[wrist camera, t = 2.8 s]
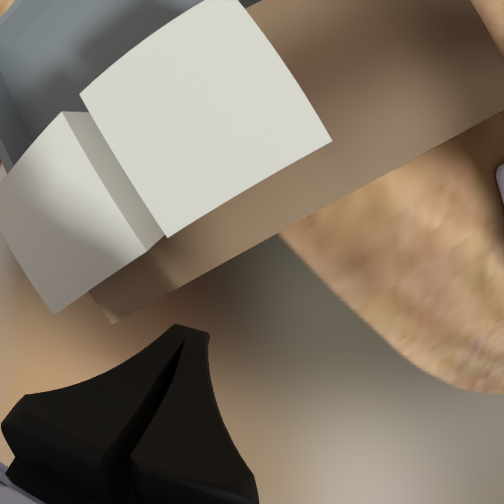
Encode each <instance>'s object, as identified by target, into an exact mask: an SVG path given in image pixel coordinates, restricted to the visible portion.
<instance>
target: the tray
mask: <svg viewBox="0 0 504 504" xmlns="http://www.w3.org/2000/svg"><path fill="white" fill-rule="evenodd" d="M202 1H204V0H16V1H15V2H14V3H13V4H12V5H11V6H10V7H9V9H8V10H7V11H6V12H5V13H4V14H3V16H2V17H1V18H0V159H1V161H2V164H3V166H4V168H5V170H6V172H7V174H8V173H9V172H10V170H11V169H12V168H13V167H14V165H15V164H16V163H17V162H18V160H19V159H20V158H21V157H22V155H23V154H24V153H25V152H26V150H27V149H28V148H29V147H30V146H31V145H32V143H33V142H34V141H35V140H36V139H37V138H38V136H39V135H40V134H41V133H42V132H43V131H44V130H45V129H46V128H47V126H48V125H49V124H50V123H51V122H52V121H53V120H54V119H55V118H56V117H57V116H58V115H59V114H60V113H61V112H62V111H66V112H89V111H88V109H87V107H86V105H85V104H84V102H83V100H82V98H81V96H80V95H79V94H80V93H81V92H82V91H83V90H84V89H85V88H86V87H87V86H89V85H90V84H91V83H92V82H93V81H94V80H95V79H96V78H97V77H99V76H100V75H101V74H102V73H103V72H104V71H105V70H107V69H108V68H109V67H110V66H111V65H113V64H114V63H115V62H116V61H117V60H119V59H120V58H121V57H122V56H124V55H125V54H126V53H127V52H129V51H130V50H131V49H133V48H134V47H135V46H136V45H138V44H139V43H140V42H142V41H143V40H145V39H146V38H147V37H149V36H150V35H151V34H153V33H154V32H156V31H157V30H159V29H160V28H161V27H163V26H164V25H166V24H167V23H169V22H170V21H172V20H173V19H175V18H176V17H178V16H180V15H181V14H183V13H184V12H186V11H187V10H189V9H191V8H192V7H194V6H196V5H197V4H199V3H201V2H202ZM238 1H239V2H240V3H241V5H242V6H243V7H244V9H246V8H248V7H249V6H251V5H253V4H255V3H257V2H259V1H261V0H238Z"/></svg>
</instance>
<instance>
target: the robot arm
mask: <svg viewBox="0 0 504 504" xmlns="http://www.w3.org/2000/svg"><path fill="white" fill-rule="evenodd" d="M496 178H497V182H498V186H499V189H500V193H501V196H502V200H503V204H504V164H502V165H500V166H499V167H498V169H497V171H496ZM209 339H210V335H209V334H208V332H204V331H200V330H196V329H193V328H189V327H186V326H182V325H178V324H174V325H172V326H171V327H170V328H169V329H168V330H167V331H166V332H165V333H163V334H162V335H161V336H160V337H159V338H157V339H156V340H155V341H154V342H153V343H151V344H150V345H148V346H147V347H146V348H144V349H143V350H142V351H141V352H139V353H137V354H136V355H134V356H133V357H131V358H130V359H128V360H127V361H125V362H123V363H122V364H120V365H118V366H116V367H114V368H113V369H111V370H109V371H107V372H105V373H103V374H100V375H98V376H96V377H93V378H91V379H89V380H87V381H84V382H81V383H78V384H75V385H72V386H68V387H65V388H61V389H57V390H52V391H47V392H41V393H35V394H27V395H24V397H22V398H21V399H20V401H18V402H17V404H16V405H15V406H14V407H13V408H12V410H11V411H10V412H9V414H8V415H7V416H6V418H5V419H4V420H3V422H2V423H1V430H2V433H3V435H4V437H5V440H6V441H7V443H8V445H9V447H10V449H11V450H12V452H13V454H14V455H15V458H14V460H13V462H12V463H11V465H10V466H9V468H8V467H7V466H5V465H4V464H2V463H1V462H0V504H259V497H258V491H257V486H256V482H255V478H254V475H253V473H252V472H251V470H250V469H249V468H248V466H247V465H246V463H245V462H244V460H243V459H242V457H241V456H240V454H239V452H238V450H237V449H236V447H235V445H234V443H233V441H232V439H231V437H230V435H229V433H228V431H227V429H226V427H225V424H224V422H223V420H222V417H221V415H220V412H219V409H218V406H217V403H216V399H215V396H214V392H213V387H212V383H211V378H210V371H209V362H208V344H209Z"/></svg>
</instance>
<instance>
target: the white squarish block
mask: <svg viewBox="0 0 504 504" xmlns="http://www.w3.org/2000/svg"><path fill="white" fill-rule="evenodd" d="M0 231H1V233H2V235H3V237H4V238H5V240H6V242H7V244H8V246H9V247H10V249H11V251H12V252H13V254H14V255H15V257H16V259H17V261H18V262H19V264H20V266H21V267H22V269H23V271H24V272H25V274H26V275H27V277H28V278H29V280H30V281H31V283H32V285H33V286H34V288H35V289H36V290H37V292H38V293H39V295H40V296H41V298H42V299H43V301H44V302H45V304H46V305H47V306H48V308H49V309H50V311H51V312H52V313H53V315H55V314H56V313H58V312H59V311H60V310H62V309H63V308H65V307H66V306H68V305H69V304H70V303H72V302H73V301H75V300H76V299H77V298H79V297H80V296H82V295H83V294H85V293H86V292H87V291H89V290H90V289H92V288H93V287H95V286H96V285H98V284H99V283H100V282H102V281H103V280H105V279H106V278H108V277H109V276H111V275H112V274H114V273H115V272H117V271H118V270H120V269H121V268H123V267H124V266H126V265H127V264H129V263H130V262H132V261H133V260H135V259H136V258H138V257H139V256H141V255H142V254H144V253H145V252H147V251H148V250H149V249H150V248H151V247H152V246H153V245H154V244H155V243H156V242H157V241H159V240H160V239H161V238H162V237H163V236H164V235H165V234H164V232H163V231H162V229H161V228H160V226H159V225H158V223H157V221H156V220H155V218H154V217H153V215H152V214H151V212H150V211H149V209H148V208H147V206H146V205H145V203H144V201H143V200H142V198H141V197H140V195H139V194H138V192H137V190H136V189H135V187H134V186H133V184H132V183H131V181H130V179H129V178H128V176H127V175H126V173H125V171H124V170H123V168H122V166H121V165H120V163H119V162H118V160H117V158H116V157H115V155H114V153H113V152H112V150H111V148H110V147H109V145H108V143H107V142H106V140H105V138H104V137H103V135H102V133H101V131H100V130H99V128H98V126H97V125H96V123H95V121H94V119H93V118H92V116H91V114H90V112H66V111H62V112H61V113H60V114H59V115H58V116H57V117H56V118H55V119H54V120H53V121H52V122H51V123H50V124H49V125H48V126H47V128H46V129H45V130H44V131H43V132H42V133H41V134H40V135H39V136H38V138H37V139H36V140H35V141H34V142H33V143H32V145H31V146H30V147H29V148H28V149H27V150H26V152H25V153H24V154H23V155H22V157H21V158H20V159H19V160H18V162H17V163H16V164H15V165H14V167H13V168H12V169H11V170H10V172H9V173H8V174H7V176H6V177H5V179H4V180H3V181H2V183H1V184H0Z"/></svg>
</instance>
